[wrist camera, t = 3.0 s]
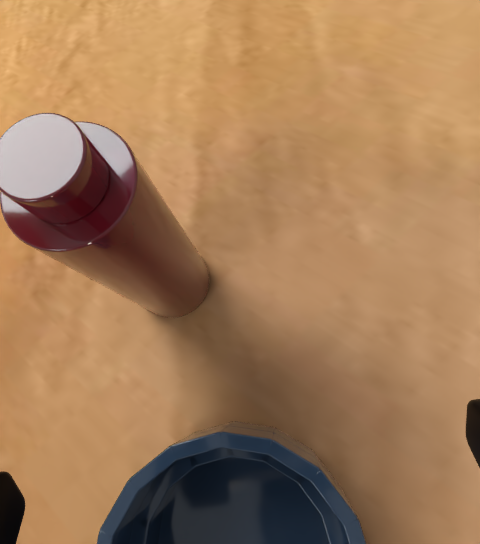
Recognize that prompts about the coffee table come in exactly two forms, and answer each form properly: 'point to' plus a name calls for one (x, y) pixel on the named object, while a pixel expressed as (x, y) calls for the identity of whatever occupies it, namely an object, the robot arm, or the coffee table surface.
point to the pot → (233, 494)
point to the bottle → (97, 212)
